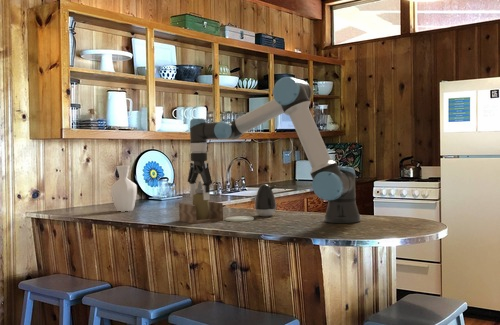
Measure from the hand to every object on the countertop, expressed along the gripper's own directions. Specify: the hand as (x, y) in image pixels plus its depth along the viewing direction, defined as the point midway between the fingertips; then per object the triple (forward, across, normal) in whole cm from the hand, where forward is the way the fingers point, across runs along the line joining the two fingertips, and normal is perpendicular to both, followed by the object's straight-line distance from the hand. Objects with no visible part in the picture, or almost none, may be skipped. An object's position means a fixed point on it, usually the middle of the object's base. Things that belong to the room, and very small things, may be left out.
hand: (199, 198), depth 255 cm
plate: (+10, -11, -14) cm, 21 cm away
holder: (+10, 0, 0) cm, 10 cm away
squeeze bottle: (+10, 0, 0) cm, 10 cm away
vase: (+11, +68, +13) cm, 70 cm away
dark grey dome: (+10, -7, -31) cm, 34 cm away
